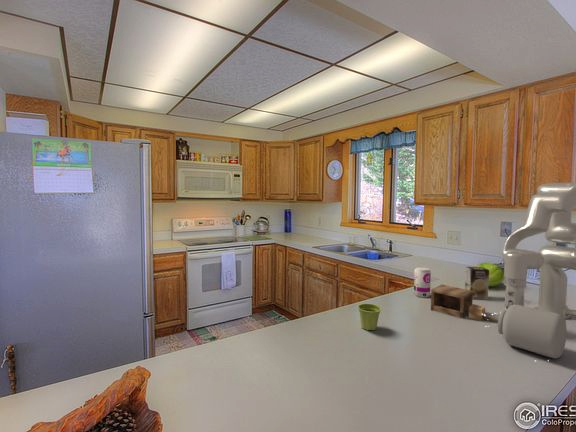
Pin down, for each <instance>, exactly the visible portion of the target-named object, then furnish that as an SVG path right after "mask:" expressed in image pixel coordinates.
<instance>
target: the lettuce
mask: <svg viewBox="0 0 576 432" xmlns="http://www.w3.org/2000/svg"><path fill="white" fill-rule="evenodd" d="M475 267H483V268H486V269H488V270H489V284H488V288H489V287H496V286H498V285H499V284H501V283H502V282H503V281H504V270H503V268H501V267H500V266H499V265H497V264H495V263H491V262H482V263H479V264H478V265H477V266H475Z"/></svg>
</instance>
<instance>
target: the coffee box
mask: <svg viewBox="0 0 576 432" xmlns="http://www.w3.org/2000/svg"><path fill="white" fill-rule="evenodd" d="M464 278H465V281H464V289H466V290H471V291H473V300H484V301H485V300H486V301H487V300H488V298H489V287H488V284H489V270H488V269H486V268H483V267H476V266H465V277H464Z"/></svg>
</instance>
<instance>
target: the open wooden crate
mask: <svg viewBox="0 0 576 432" xmlns="http://www.w3.org/2000/svg"><path fill="white" fill-rule="evenodd" d="M430 298H431V299H430V311H434V312H437V313H441V314H445V315H448V316H451V317H456V318H459V319H464V318H465V312H468V313H469V306H471V305H472V304H473V300H474V299H473V291H471V290H466V289H465V288H460V287H455V286H450V285H446V284H440V285H438V286H436V287H434V288H430ZM444 306H445V307H444Z"/></svg>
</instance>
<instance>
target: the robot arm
mask: <svg viewBox="0 0 576 432" xmlns="http://www.w3.org/2000/svg"><path fill="white" fill-rule="evenodd" d="M575 209H576V182H548V183H543V184H540V185H538V186H537V188H536V194H533V195H532V196H531V198H530V201H529V204H528V206H527V209H526V213H525V217H524V221H523V224H522V225H521V226H520V227H519V228H517V229H515V230H514V231H513V232H512V233H511V234H510V235H509V236H508V237H507V239H506V240H505V243H504V245H503V249H502V253H501V258H502V261H503V265H504V266H503V269H504V270H503V272H504V279H503V281H502V282H503V285H504V286H505V292H504V293H505V295H504V310H507V309H508V308H509V307H510V306H511V305H514V304H515V305H521V306H525V289H526V288H527V275H528V274H527V273H528V271H527V270H539V271H540V272H539V289H538V290H539V291H538V292H539V293H538V306H536V307H533V308H534V309H539V310H543V311H548V312H552V313H557V314H560V315H561V316H562V317H563V318H564V319H565V320H567V319H570V318H571V315H573V316H576V309H571V308H569V307H568V305H567V293H568V276H567V274H566V272H565V270H566V269H567V270H571V271H572V270H573V271H576V222H572V216H573V215H572V212H573V211H575ZM540 234H544V237H545V239H546V240H547V241H548V242H550V243H557V244H565V245H573V246H574V247H571V246H570V247H569V246H562V245H561V246H560V245H553V244H551V245H544V246H542V247H541V248H539V250H538V252H537V251H535V250H534V251H533V250H527V249H521V248H520V249H519V248H517V246H518V245H519V243H520V242H522V241H523V240H525V239H527V238H529V237H533V236H537V235H540ZM564 269H565V270H564Z"/></svg>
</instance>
